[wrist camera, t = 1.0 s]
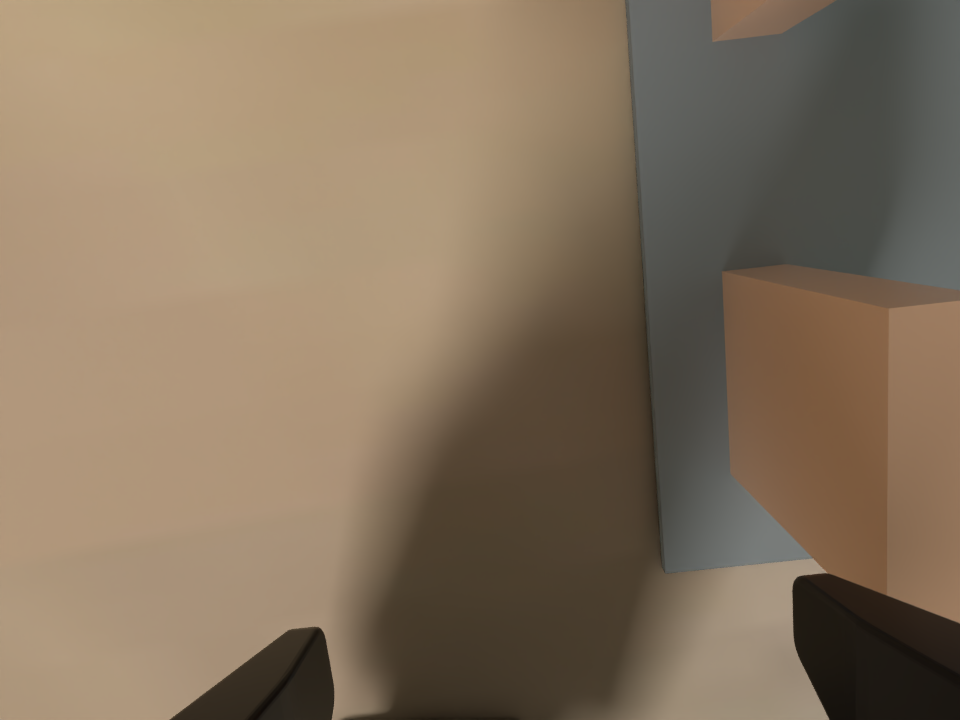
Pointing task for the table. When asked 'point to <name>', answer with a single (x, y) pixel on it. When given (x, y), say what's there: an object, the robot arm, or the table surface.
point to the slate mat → (776, 209)
